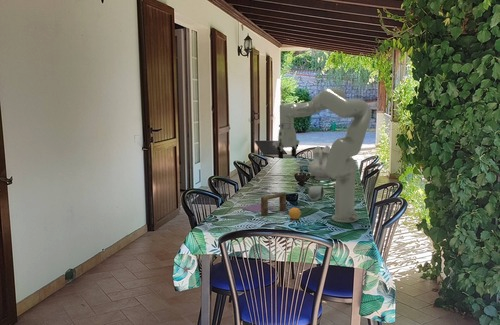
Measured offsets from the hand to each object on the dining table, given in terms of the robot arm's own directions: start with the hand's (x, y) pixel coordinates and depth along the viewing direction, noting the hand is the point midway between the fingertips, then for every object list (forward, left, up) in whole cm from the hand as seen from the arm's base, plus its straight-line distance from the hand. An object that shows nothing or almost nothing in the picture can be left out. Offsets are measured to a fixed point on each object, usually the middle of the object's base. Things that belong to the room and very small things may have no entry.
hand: (287, 157), depth 247 cm
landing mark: (+9, +15, -28) cm, 33 cm away
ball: (-21, +15, -25) cm, 36 cm away
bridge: (-5, +15, -28) cm, 32 cm away
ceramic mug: (+2, -25, -28) cm, 38 cm away
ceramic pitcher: (+41, -74, -28) cm, 89 cm away
